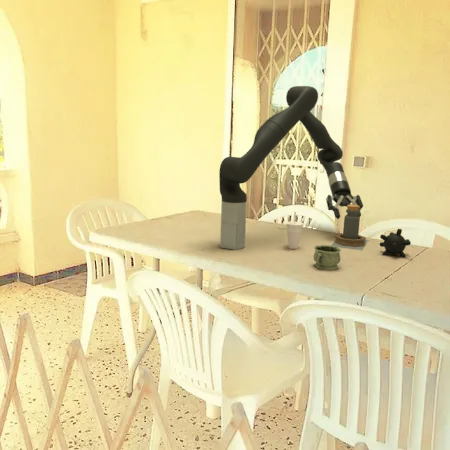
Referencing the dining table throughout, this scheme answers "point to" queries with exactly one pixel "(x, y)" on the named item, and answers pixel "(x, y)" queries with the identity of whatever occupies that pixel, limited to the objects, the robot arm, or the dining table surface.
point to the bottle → (351, 222)
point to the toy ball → (394, 243)
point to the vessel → (327, 257)
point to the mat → (349, 246)
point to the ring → (350, 241)
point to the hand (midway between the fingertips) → (348, 217)
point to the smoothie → (294, 233)
